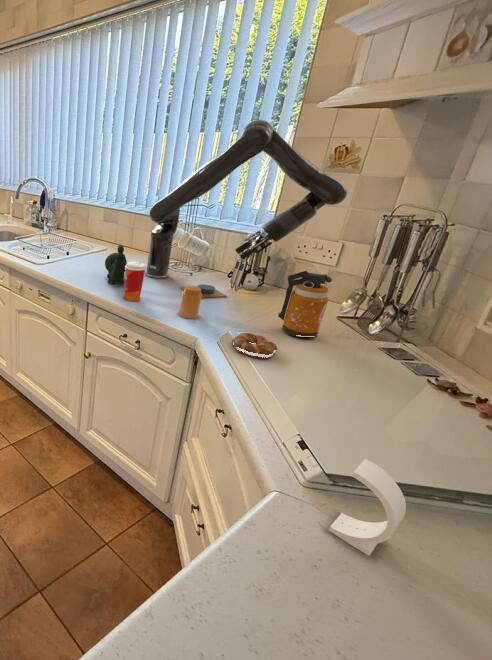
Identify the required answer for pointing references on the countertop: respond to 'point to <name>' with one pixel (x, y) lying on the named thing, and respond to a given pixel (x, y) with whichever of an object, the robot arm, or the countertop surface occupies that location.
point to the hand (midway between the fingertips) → (238, 254)
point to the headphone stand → (366, 532)
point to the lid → (206, 289)
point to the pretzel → (260, 346)
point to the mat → (214, 295)
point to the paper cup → (133, 280)
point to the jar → (190, 302)
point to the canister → (305, 304)
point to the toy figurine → (116, 266)
